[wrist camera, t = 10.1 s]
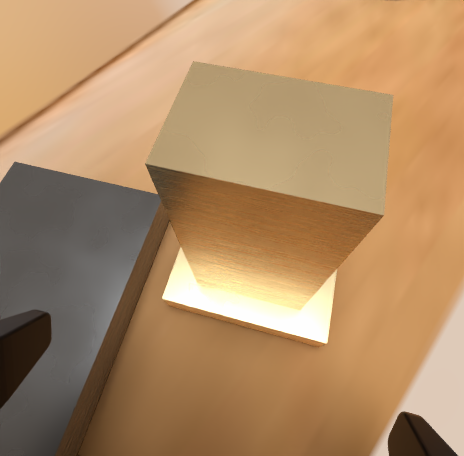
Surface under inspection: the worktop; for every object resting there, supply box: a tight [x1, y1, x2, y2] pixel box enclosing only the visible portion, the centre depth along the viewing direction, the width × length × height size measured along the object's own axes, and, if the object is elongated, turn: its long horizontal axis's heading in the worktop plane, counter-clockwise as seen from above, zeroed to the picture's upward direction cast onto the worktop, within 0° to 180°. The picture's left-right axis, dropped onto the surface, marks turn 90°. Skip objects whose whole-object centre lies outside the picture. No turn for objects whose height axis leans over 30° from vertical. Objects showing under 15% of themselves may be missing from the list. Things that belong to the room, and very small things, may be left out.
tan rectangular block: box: [145, 61, 393, 347], centre depth 11 cm, size 5×7×10 cm
